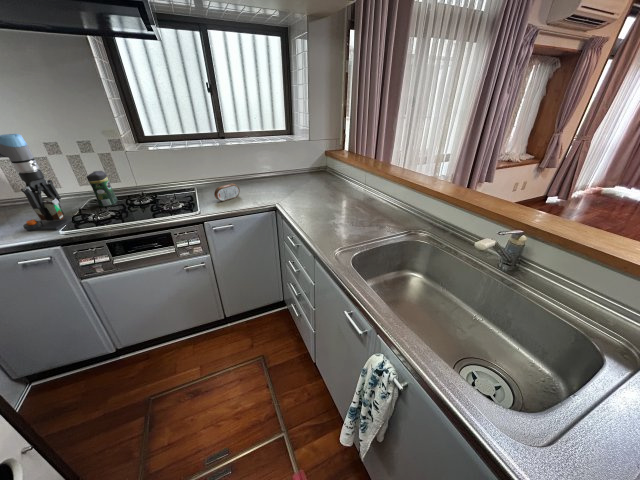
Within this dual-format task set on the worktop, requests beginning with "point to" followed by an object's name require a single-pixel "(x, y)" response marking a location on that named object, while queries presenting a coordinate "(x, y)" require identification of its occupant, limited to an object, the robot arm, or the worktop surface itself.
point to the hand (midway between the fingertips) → (55, 217)
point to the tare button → (31, 222)
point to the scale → (49, 224)
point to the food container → (50, 208)
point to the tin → (227, 192)
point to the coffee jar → (102, 188)
